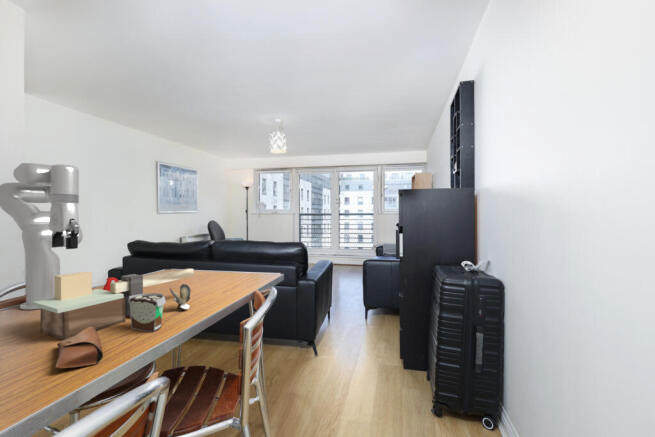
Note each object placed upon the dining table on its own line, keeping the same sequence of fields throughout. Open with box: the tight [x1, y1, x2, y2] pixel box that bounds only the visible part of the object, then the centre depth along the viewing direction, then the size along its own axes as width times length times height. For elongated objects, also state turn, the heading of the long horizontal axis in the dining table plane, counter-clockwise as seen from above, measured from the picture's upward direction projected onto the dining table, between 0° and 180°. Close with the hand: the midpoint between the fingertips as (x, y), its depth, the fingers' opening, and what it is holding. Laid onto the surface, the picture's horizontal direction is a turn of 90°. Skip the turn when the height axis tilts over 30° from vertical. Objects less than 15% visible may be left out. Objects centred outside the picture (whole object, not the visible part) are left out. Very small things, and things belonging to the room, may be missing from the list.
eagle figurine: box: [169, 283, 192, 312], centre depth 107 cm, size 8×7×9 cm
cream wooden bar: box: [110, 268, 195, 293], centre depth 109 cm, size 3×30×3 cm, turn 154°
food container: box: [128, 292, 166, 333], centre depth 91 cm, size 12×6×10 cm, turn 71°
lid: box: [33, 271, 124, 313], centre depth 91 cm, size 15×17×8 cm
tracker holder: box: [102, 276, 121, 293], centre depth 118 cm, size 12×4×10 cm, turn 168°
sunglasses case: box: [55, 327, 104, 369], centre depth 73 cm, size 18×7×7 cm
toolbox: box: [40, 273, 144, 341], centre depth 94 cm, size 14×22×14 cm, turn 154°
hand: (64, 247), depth 104 cm, fingers open, 9 cm apart
